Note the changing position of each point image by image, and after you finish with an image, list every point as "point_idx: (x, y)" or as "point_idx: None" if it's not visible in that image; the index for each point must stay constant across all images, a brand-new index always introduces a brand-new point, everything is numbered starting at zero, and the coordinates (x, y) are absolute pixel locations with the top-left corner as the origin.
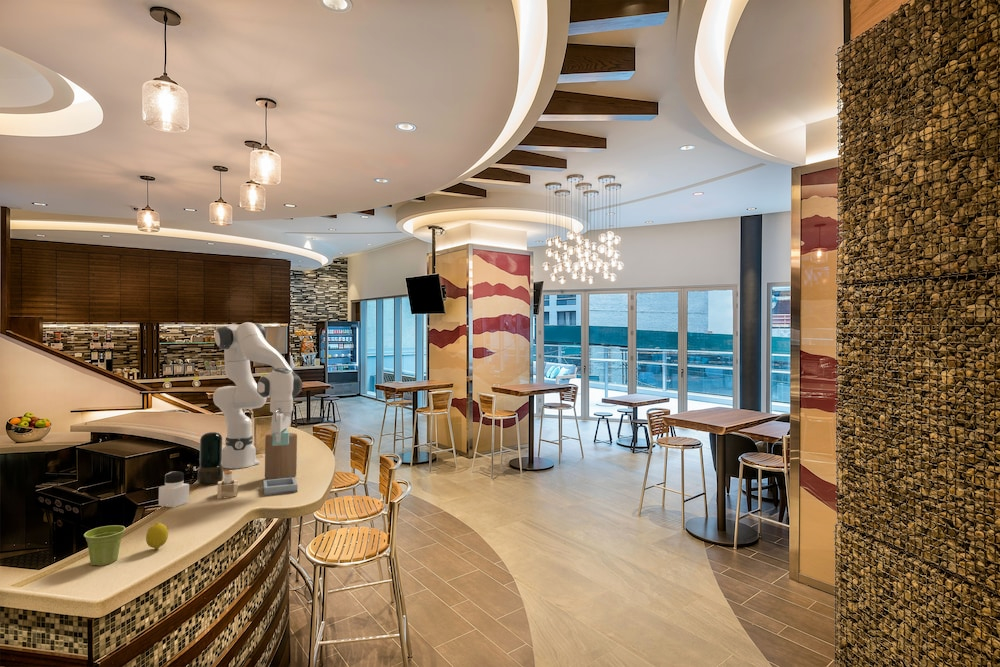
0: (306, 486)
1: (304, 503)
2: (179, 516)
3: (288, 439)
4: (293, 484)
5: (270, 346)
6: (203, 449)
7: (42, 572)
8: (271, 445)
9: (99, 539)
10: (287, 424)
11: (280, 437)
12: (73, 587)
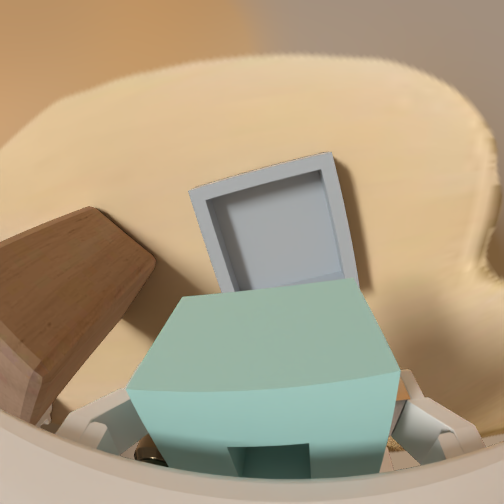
0: (241, 125)
1: (468, 116)
2: (453, 412)
3: (323, 311)
4: (325, 171)
5: None
6: None
7: None
8: (63, 380)
9: None
10: (90, 488)
11: (433, 401)
12: None
